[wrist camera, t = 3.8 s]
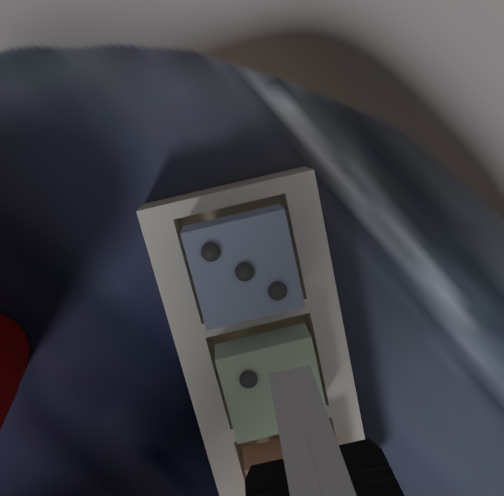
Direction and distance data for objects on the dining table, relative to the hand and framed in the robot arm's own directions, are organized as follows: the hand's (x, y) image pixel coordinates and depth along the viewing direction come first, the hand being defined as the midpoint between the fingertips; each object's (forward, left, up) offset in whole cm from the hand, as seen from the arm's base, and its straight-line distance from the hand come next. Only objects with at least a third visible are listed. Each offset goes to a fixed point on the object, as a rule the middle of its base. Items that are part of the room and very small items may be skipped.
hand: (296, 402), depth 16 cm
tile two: (-1, -6, -13) cm, 14 cm away
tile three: (-1, +2, -13) cm, 13 cm away
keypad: (-1, -6, -17) cm, 18 cm away
